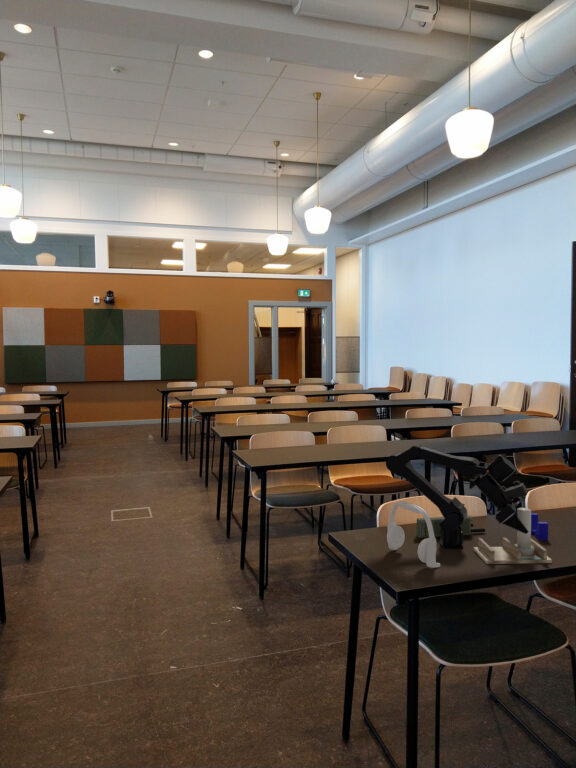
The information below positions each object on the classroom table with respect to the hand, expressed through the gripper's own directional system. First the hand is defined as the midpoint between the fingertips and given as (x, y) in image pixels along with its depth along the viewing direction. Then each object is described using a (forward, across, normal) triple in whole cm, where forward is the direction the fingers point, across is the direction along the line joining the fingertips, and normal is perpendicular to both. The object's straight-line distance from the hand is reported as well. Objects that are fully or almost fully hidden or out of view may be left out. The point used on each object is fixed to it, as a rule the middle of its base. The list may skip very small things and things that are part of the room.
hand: (528, 528), depth 177 cm
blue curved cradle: (+6, +24, +7) cm, 26 cm away
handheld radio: (-12, +11, +26) cm, 30 cm away
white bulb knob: (+5, 0, +7) cm, 8 cm away
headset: (-16, -18, +30) cm, 38 cm away
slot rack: (+3, -2, +10) cm, 11 cm away
